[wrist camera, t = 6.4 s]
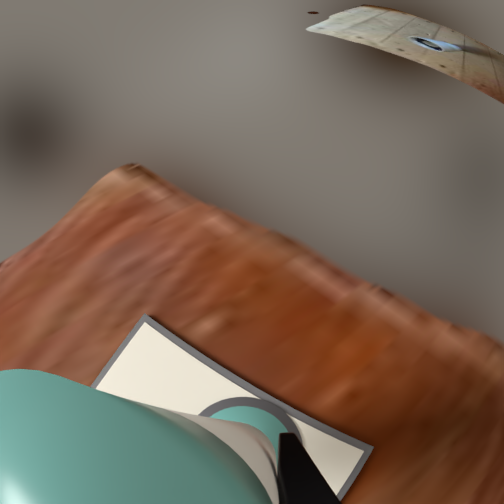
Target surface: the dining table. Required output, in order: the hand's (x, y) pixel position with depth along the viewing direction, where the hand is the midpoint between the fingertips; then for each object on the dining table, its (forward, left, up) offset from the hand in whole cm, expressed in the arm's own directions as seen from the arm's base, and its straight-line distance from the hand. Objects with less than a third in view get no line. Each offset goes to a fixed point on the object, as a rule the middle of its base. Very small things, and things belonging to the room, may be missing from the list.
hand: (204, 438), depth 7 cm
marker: (-1, +1, -7) cm, 7 cm away
